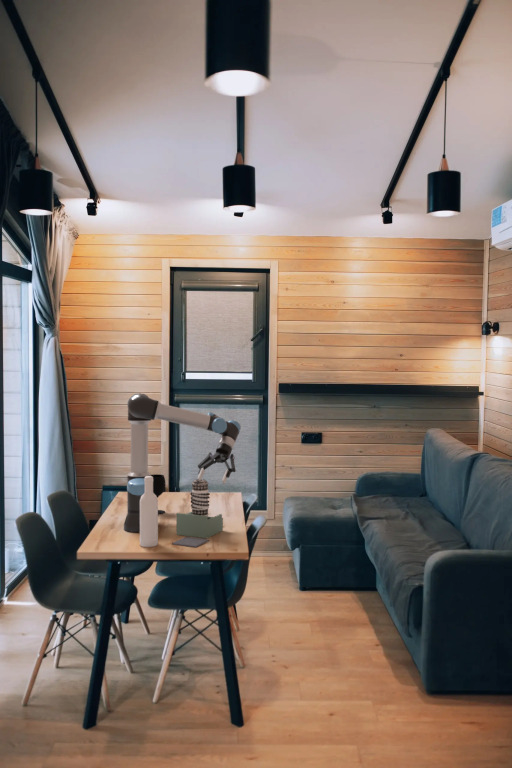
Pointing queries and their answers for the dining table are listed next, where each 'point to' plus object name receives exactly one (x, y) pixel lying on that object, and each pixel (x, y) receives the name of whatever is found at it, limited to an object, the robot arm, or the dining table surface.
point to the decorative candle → (200, 497)
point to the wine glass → (158, 487)
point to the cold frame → (198, 525)
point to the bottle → (148, 515)
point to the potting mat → (190, 542)
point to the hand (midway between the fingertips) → (210, 481)
